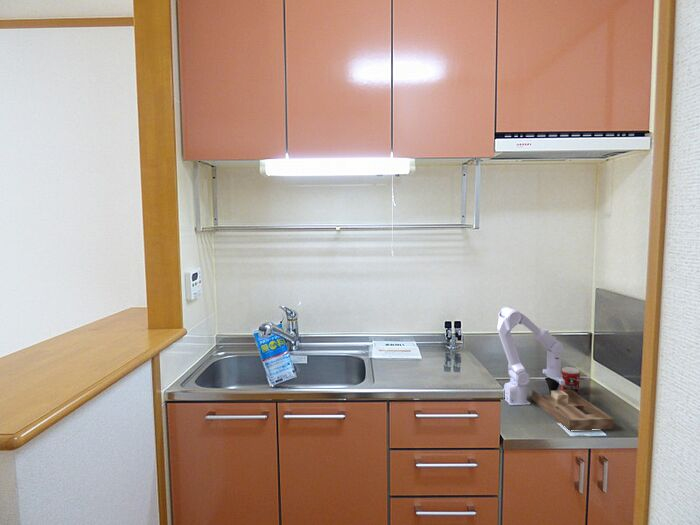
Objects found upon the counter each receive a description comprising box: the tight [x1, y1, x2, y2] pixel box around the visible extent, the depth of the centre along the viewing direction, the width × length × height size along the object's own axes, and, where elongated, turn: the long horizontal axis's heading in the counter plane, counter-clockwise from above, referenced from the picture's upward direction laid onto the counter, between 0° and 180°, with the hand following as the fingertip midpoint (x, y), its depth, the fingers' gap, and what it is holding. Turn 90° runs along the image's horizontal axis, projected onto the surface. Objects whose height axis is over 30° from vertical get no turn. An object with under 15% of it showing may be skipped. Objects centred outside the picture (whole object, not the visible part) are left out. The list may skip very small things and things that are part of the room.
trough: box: [531, 389, 615, 431], centre depth 172 cm, size 18×29×4 cm, turn 4°
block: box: [550, 389, 568, 404], centre depth 180 cm, size 5×5×4 cm
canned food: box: [560, 366, 581, 395], centre depth 194 cm, size 8×8×11 cm
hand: (552, 393), depth 185 cm, fingers closed
